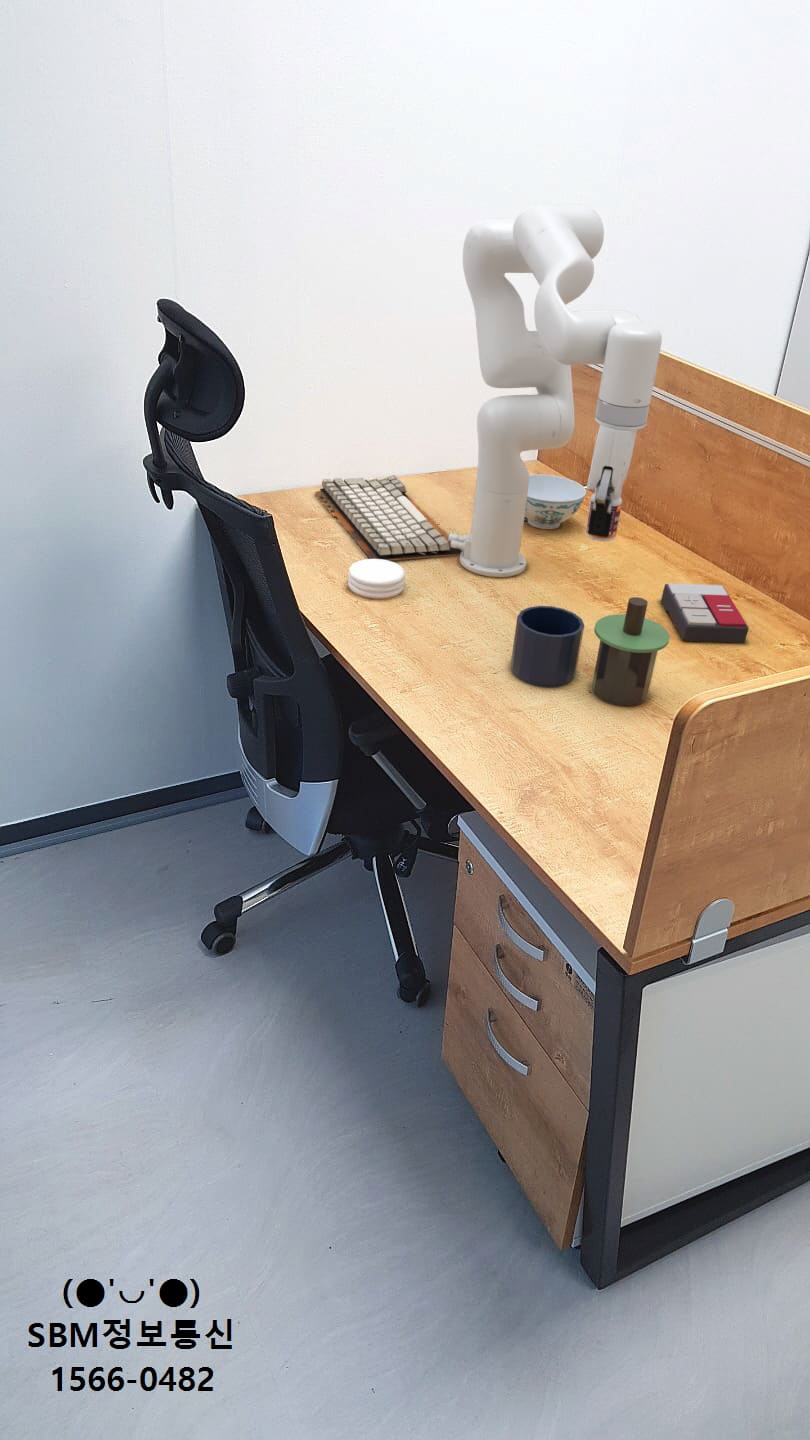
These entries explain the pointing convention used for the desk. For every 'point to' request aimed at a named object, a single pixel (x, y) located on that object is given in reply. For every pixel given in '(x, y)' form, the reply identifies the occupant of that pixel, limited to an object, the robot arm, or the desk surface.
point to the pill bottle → (615, 517)
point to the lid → (632, 630)
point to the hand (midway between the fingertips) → (601, 527)
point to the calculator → (704, 613)
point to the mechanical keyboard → (384, 519)
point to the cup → (622, 676)
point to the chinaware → (552, 500)
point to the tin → (546, 646)
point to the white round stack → (376, 578)
